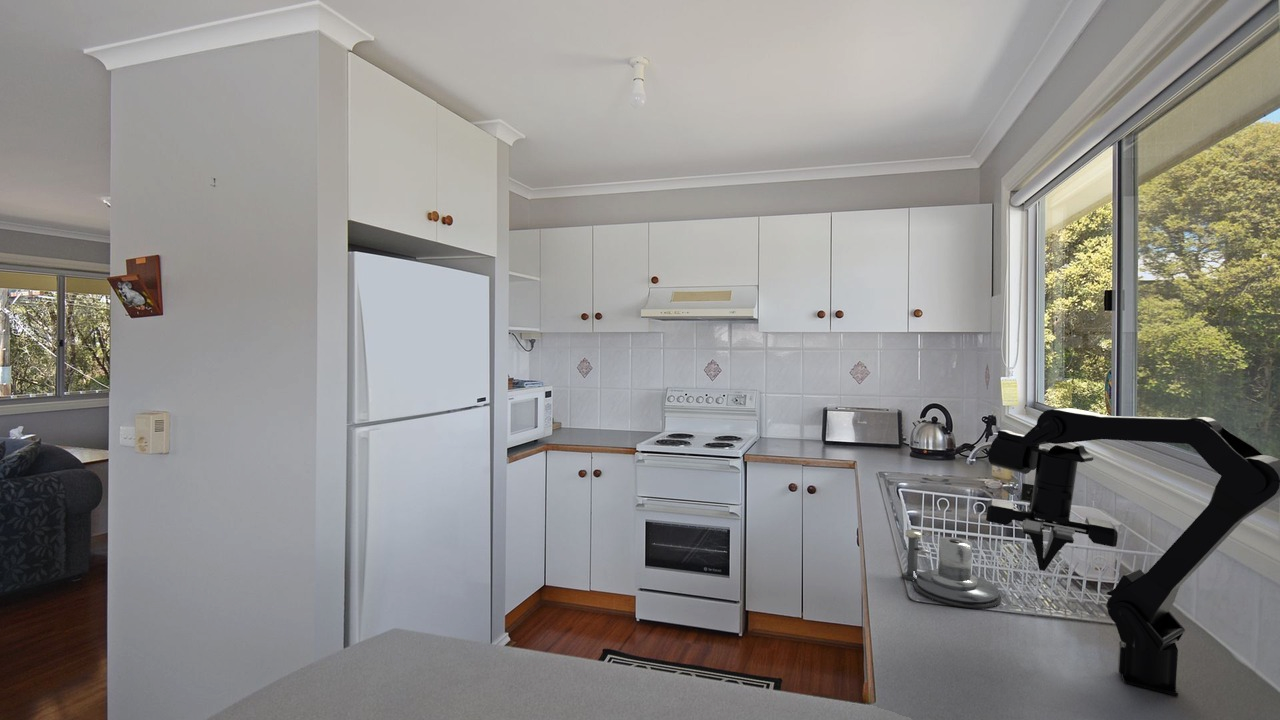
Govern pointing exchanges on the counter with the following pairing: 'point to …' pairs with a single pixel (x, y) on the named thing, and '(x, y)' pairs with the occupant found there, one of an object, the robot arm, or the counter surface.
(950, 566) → the cover
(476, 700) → the counter surface
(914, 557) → the stand
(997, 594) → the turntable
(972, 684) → the counter surface
